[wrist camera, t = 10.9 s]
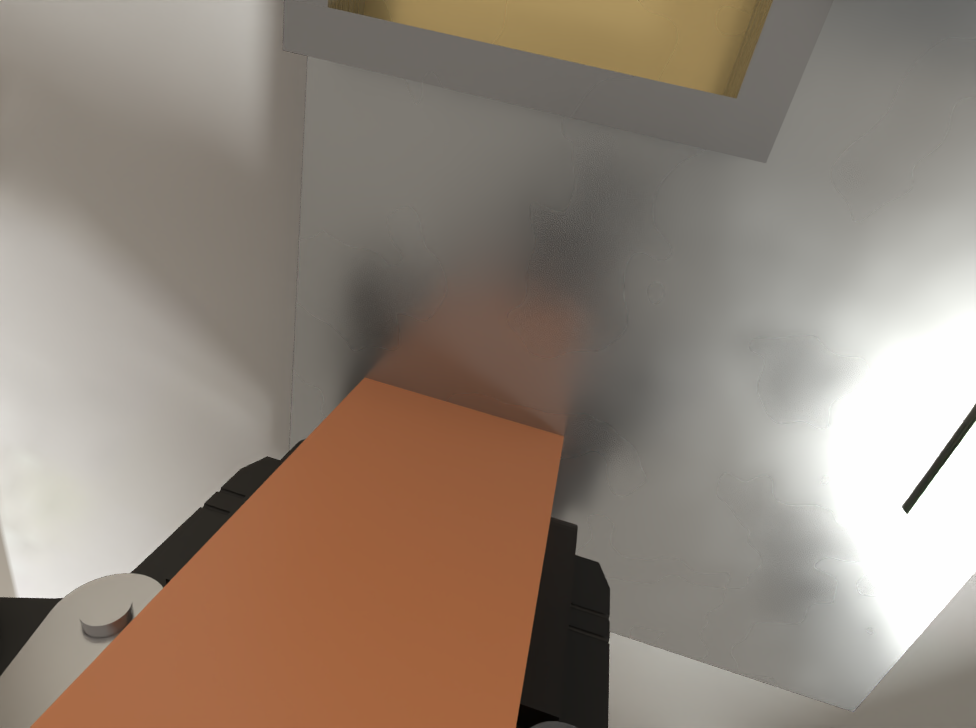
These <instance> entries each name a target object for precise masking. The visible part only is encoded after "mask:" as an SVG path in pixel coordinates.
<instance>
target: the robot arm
mask: <svg viewBox="0 0 976 728" xmlns="http://www.w3.org/2000/svg"><path fill="white" fill-rule="evenodd" d="M304 440H305V439H303V440H300V441H299V442H298V443H297V444H296V445H295V446H294V447H293V448H292V449H291V450H290V451H289V452H288V453H287V454H286V455H285V456H284V457H283V458H282V459H281V460H277V459H274V458H271V457H268V456H267V457H265V458H263V459H261V460H259V461H257V462H255V463H253V464H250V465H248V466H246V467H244V468H242V469H240V470H239V471H238V472H237V473H236V474H235V475H234V476H233V477H232V478H231V479H230V480H229V481H228V482H227V483H225V484H224V485H223V486H222V487H221V490H220V492H216V493H215V494H214V495H213V496H212V497H211V498H210V499H209V500H208V501H206V502H205V504H204V507H203V508H201V507H200V508H199V509H198V510H197V511H196V512H195V513H194V514H193V515H192V516H191V517H190V518H189V519H187V520H186V521H185V522H184V523H183V524H182V525H181V526H180V527H179V528H178V529H177V530H176V531H175V532H174V533H173V534H172V535H171V536H170V537H168V538H167V539H166V540H165V541H164V542H163V543H162V544H161V545H160V546H159V547H158V548H157V549H156V550H155V551H154V552H153V553H152V554H151V555H149V556H148V557H147V558H146V559H145V560H144V561H143V562H142V563H141V564H140V565H139V566H138V567H137V568H136V569H134V570H133V571H132V572H131V573H123V574H114V575H109V576H105V577H101V578H98V579H95V580H93V581H90V582H88V583H86V584H84V585H82V586H80V587H78V588H76V589H75V590H73V591H72V592H71V593H69V594H68V595H66V596H65V597H64V598H56V599H48V598H5V597H4V598H3V597H0V728H30V727H31V726H32V725H33V724H34V723H35V721H36V720H37V719H38V718H39V717H40V716H41V715H42V714H43V713H44V712H45V711H46V710H47V709H48V708H49V707H50V706H51V705H52V704H53V703H54V702H55V701H56V700H57V698H58V697H59V696H60V695H61V694H62V693H63V692H64V691H65V690H66V689H67V688H68V687H69V686H70V685H71V684H72V683H73V682H74V681H75V680H76V679H77V678H78V677H79V675H80V674H81V673H82V672H83V671H84V670H85V669H86V668H87V667H88V666H89V665H90V664H91V663H92V662H93V661H94V660H95V659H96V658H97V657H98V656H99V655H100V654H101V652H102V651H103V650H104V649H105V648H106V647H107V646H108V645H109V644H110V643H111V642H112V641H113V640H114V639H115V638H116V637H117V636H118V635H119V634H120V633H121V632H122V631H123V629H124V628H125V627H126V626H127V625H128V624H129V623H130V622H131V621H132V620H133V619H134V618H135V617H136V616H137V615H138V614H139V613H140V612H141V611H142V610H143V609H144V608H145V606H146V605H147V604H148V603H149V602H150V601H151V600H152V599H153V598H154V597H155V596H156V595H157V594H158V593H159V592H160V591H161V590H162V589H163V588H164V587H165V586H166V585H167V583H168V582H169V581H170V580H171V579H172V578H173V577H174V576H175V575H176V574H177V573H178V572H179V571H180V570H181V569H182V568H183V567H184V566H185V565H186V564H187V563H188V562H189V560H190V559H191V558H192V557H193V556H194V555H195V554H196V553H197V552H198V551H199V550H200V549H201V548H202V547H203V546H204V545H205V544H206V543H207V542H208V541H209V540H210V539H211V537H212V536H213V535H214V534H215V533H216V532H217V531H218V530H219V529H220V528H221V527H222V526H223V525H224V524H225V523H226V522H227V521H228V520H229V519H230V518H231V517H232V516H233V514H234V513H235V512H236V511H237V510H238V509H239V508H240V507H241V506H242V505H243V504H244V503H245V502H246V501H247V500H248V499H249V498H250V497H251V496H252V495H253V494H254V493H255V491H256V490H257V489H258V488H259V487H260V486H261V485H262V484H263V483H264V482H265V481H266V480H267V479H268V478H269V477H270V476H271V475H272V474H273V473H274V472H275V471H276V470H277V468H278V467H279V466H280V465H281V464H282V463H283V462H284V461H285V460H286V459H287V458H288V457H289V456H290V455H291V454H292V453H293V452H294V451H295V450H296V449H297V448H298V447H299V445H300V444H301V443H302V442H303V441H304ZM577 532H578V526H577V525H576V524H573V523H570V522H566V521H563V520H560V519H557V518H554V517H551V518H550V524H549V531H548V537H547V543H546V549H545V555H544V561H543V567H542V573H541V579H540V585H539V591H538V597H537V603H536V609H535V615H534V621H533V627H532V633H531V639H530V645H529V651H528V657H527V663H526V669H525V675H524V681H523V688H522V694H521V700H520V706H519V712H518V718H517V724H516V728H608V698H609V644H608V642H609V635H610V621H609V616H610V587H609V585H608V582H607V580H606V578H605V575H604V573H603V570H602V568H601V566H600V563H599V562H596V561H593V560H590V559H587V558H584V557H581V556H578V555H575V553H576V543H577Z"/></svg>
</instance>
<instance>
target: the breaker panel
mask: <svg viewBox="0 0 976 728" xmlns="http://www.w3.org/2000/svg"><path fill="white" fill-rule="evenodd" d="M283 50H284V51H288V52H292V53H297V54H301V55H305V56H307V77H306V99H305V120H304V142H303V164H302V185H301V207H300V228H299V250H298V271H297V293H296V314H295V336H294V357H293V379H292V400H291V422H290V443H289V451H290V450H291V449H292V448H293V447H294V446H295V445H296V444H297V443H298V442H299V441H300V440H303V439H306V438H307V437H308V436H309V435H310V434H311V433H312V432H313V431H314V430H315V429H316V428H317V427H318V426H319V425H320V424H321V422H322V421H323V420H324V419H325V418H326V417H327V416H328V415H329V414H330V413H331V412H332V411H333V410H334V409H335V408H336V407H337V406H338V405H339V404H340V403H341V402H342V401H343V399H344V398H345V397H346V396H347V395H348V394H349V393H350V392H351V391H352V390H353V389H354V388H355V387H356V386H357V385H358V384H359V383H360V382H361V381H362V380H363V379H364V378H368V379H372V380H375V381H379V382H382V383H385V384H389V385H392V386H395V387H399V388H402V389H406V390H409V391H412V392H416V393H419V394H423V395H426V396H429V397H433V398H436V399H439V400H443V401H446V402H450V403H453V404H456V405H460V406H463V407H466V408H470V409H473V410H477V411H480V412H483V413H487V414H490V415H494V416H497V417H500V418H504V419H507V420H510V421H514V422H517V423H521V424H524V425H527V426H531V427H534V428H537V429H541V430H544V431H548V432H551V433H554V434H558V435H561V436H564V440H563V446H562V452H561V458H560V464H559V470H558V476H557V482H556V488H555V494H554V500H553V506H552V512H551V517H554V518H557V519H560V520H563V521H566V522H570V523H573V524H576V525H577V526H578V532H577V543H576V553H575V555H578V556H581V557H584V558H587V559H590V560H593V561H596V562H599V563H600V566H601V568H602V570H603V573H604V575H605V578H606V580H607V582H608V585H609V587H610V616H609V621H610V632H613V633H616V634H619V635H622V636H625V637H628V638H631V639H634V640H637V641H640V642H643V643H646V644H649V645H652V646H655V647H658V648H661V649H664V650H667V651H670V652H673V653H676V654H679V655H682V656H685V657H688V658H691V659H694V660H697V661H700V662H703V663H706V664H709V665H712V666H715V667H718V668H721V669H724V670H727V671H731V672H734V673H737V674H740V675H743V676H746V677H749V678H752V679H755V680H758V681H761V682H764V683H767V684H770V685H773V686H776V687H779V688H782V689H785V690H788V691H791V692H794V693H797V694H800V695H803V696H806V697H809V698H812V699H815V700H818V701H821V702H824V703H827V704H830V705H833V706H836V707H839V708H842V709H845V710H848V711H852V712H854V711H855V710H856V709H857V708H858V706H859V705H860V704H861V703H862V702H863V701H864V699H865V698H866V697H867V696H868V695H869V694H870V692H871V691H872V690H873V689H874V688H875V687H876V686H877V684H878V683H879V682H880V681H881V680H882V679H883V677H884V676H885V675H886V674H887V673H888V672H889V670H890V669H891V668H892V667H893V666H894V665H895V664H896V662H897V661H898V660H899V659H900V658H901V657H902V655H903V654H904V653H905V652H906V651H907V650H908V648H909V647H910V646H911V645H912V644H913V643H914V641H915V640H916V639H917V638H918V637H919V636H920V635H921V633H922V632H923V631H924V630H925V629H926V628H927V626H928V625H929V624H930V623H931V622H932V621H933V619H934V618H935V617H936V616H937V615H938V614H939V613H940V611H941V610H942V609H943V608H944V607H945V606H946V604H947V603H948V602H949V601H950V600H951V599H952V597H953V596H954V595H955V594H956V593H957V592H958V590H959V589H960V588H961V587H962V586H963V585H964V584H965V582H966V581H967V580H968V579H969V578H970V577H971V575H972V574H973V573H974V572H975V571H976V0H284V28H283Z"/></svg>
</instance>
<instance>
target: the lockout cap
mask: <svg viewBox="0 0 976 728" xmlns="http://www.w3.org/2000/svg"><path fill="white" fill-rule="evenodd" d="M563 440H564V436H561V435H558V434H554V433H551V432H548V431H544V430H541V429H537V428H534V427H531V426H527V425H524V424H521V423H517V422H514V421H510V420H507V419H504V418H500V417H497V416H494V415H490V414H487V413H483V412H480V411H477V410H473V409H470V408H466V407H463V406H460V405H456V404H453V403H450V402H446V401H443V400H439V399H436V398H433V397H429V396H426V395H423V394H419V393H416V392H412V391H409V390H406V389H402V388H399V387H395V386H392V385H389V384H385V383H382V382H379V381H375V380H372V379H368V378H364V379H363V380H362V381H361V382H360V383H359V384H358V385H357V386H356V387H355V388H354V389H353V390H352V391H351V392H350V393H349V394H348V395H347V396H346V397H345V398H344V399H343V401H342V402H341V403H340V404H339V405H338V406H337V407H336V408H335V409H334V410H333V411H332V412H331V413H330V414H329V415H328V416H327V417H326V418H325V419H324V420H323V421H322V422H321V424H320V425H319V426H318V427H317V428H316V429H315V430H314V431H313V432H312V433H311V434H310V435H309V436H308V437H307V438H306V439H305V440H304V441H303V442H302V443H301V444H300V445H299V447H298V448H297V449H296V450H295V451H294V452H293V453H292V454H291V455H290V456H289V457H288V458H287V459H286V460H285V461H284V462H283V463H282V464H281V465H280V466H279V467H278V468H277V470H276V471H275V472H274V473H273V474H272V475H271V476H270V477H269V478H268V479H267V480H266V481H265V482H264V483H263V484H262V485H261V486H260V487H259V488H258V489H257V490H256V491H255V493H254V494H253V495H252V496H251V497H250V498H249V499H248V500H247V501H246V502H245V503H244V504H243V505H242V506H241V507H240V508H239V509H238V510H237V511H236V512H235V513H234V514H233V516H232V517H231V518H230V519H229V520H228V521H227V522H226V523H225V524H224V525H223V526H222V527H221V528H220V529H219V530H218V531H217V532H216V533H215V534H214V535H213V536H212V537H211V539H210V540H209V541H208V542H207V543H206V544H205V545H204V546H203V547H202V548H201V549H200V550H199V551H198V552H197V553H196V554H195V555H194V556H193V557H192V558H191V559H190V560H189V562H188V563H187V564H186V565H185V566H184V567H183V568H182V569H181V570H180V571H179V572H178V573H177V574H176V575H175V576H174V577H173V578H172V579H171V580H170V581H169V582H168V583H167V585H166V586H165V587H164V588H163V589H162V590H161V591H160V592H159V593H158V594H157V595H156V596H155V597H154V598H153V599H152V600H151V601H150V602H149V603H148V604H147V605H146V606H145V608H144V609H143V610H142V611H141V612H140V613H139V614H138V615H137V616H136V617H135V618H134V619H133V620H132V621H131V622H130V623H129V624H128V625H127V626H126V627H125V628H124V629H123V631H122V632H121V633H120V634H119V635H118V636H117V637H116V638H115V639H114V640H113V641H112V642H111V643H110V644H109V645H108V646H107V647H106V648H105V649H104V650H103V651H102V652H101V654H100V655H99V656H98V657H97V658H96V659H95V660H94V661H93V662H92V663H91V664H90V665H89V666H88V667H87V668H86V669H85V670H84V671H83V672H82V673H81V674H80V675H79V677H78V678H77V679H76V680H75V681H74V682H73V683H72V684H71V685H70V686H69V687H68V688H67V689H66V690H65V691H64V692H63V693H62V694H61V695H60V696H59V697H58V698H57V700H56V701H55V702H54V703H53V704H52V705H51V706H50V707H49V708H48V709H47V710H46V711H45V712H44V713H43V714H42V715H41V716H40V717H39V718H38V719H37V720H36V721H35V723H34V724H33V725H32V726H31V727H30V728H516V724H517V718H518V712H519V706H520V700H521V694H522V688H523V681H524V675H525V669H526V663H527V657H528V651H529V645H530V639H531V633H532V627H533V621H534V615H535V609H536V603H537V597H538V591H539V585H540V579H541V573H542V567H543V561H544V555H545V549H546V543H547V537H548V531H549V524H550V518H551V512H552V506H553V500H554V494H555V488H556V482H557V476H558V470H559V464H560V458H561V452H562V446H563Z"/></svg>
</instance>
